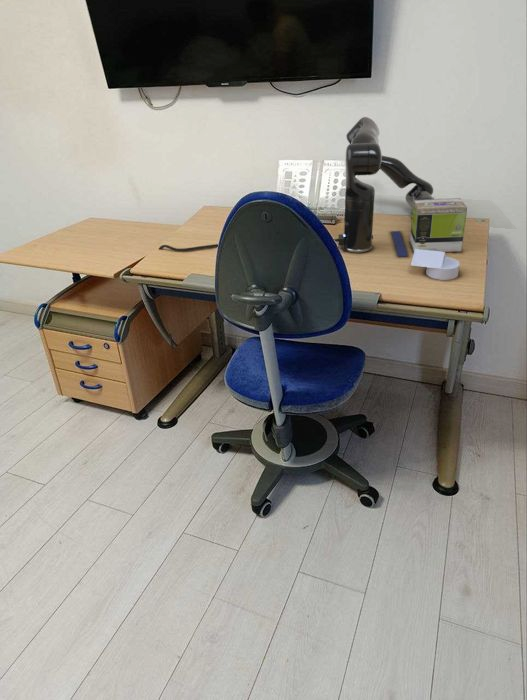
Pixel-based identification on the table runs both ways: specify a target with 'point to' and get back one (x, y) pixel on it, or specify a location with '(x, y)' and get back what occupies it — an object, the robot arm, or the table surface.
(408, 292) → the table surface
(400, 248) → the ruler
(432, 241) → the tea box
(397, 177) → the robot arm
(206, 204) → the table surface
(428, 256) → the wedge on round base
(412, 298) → the table surface
